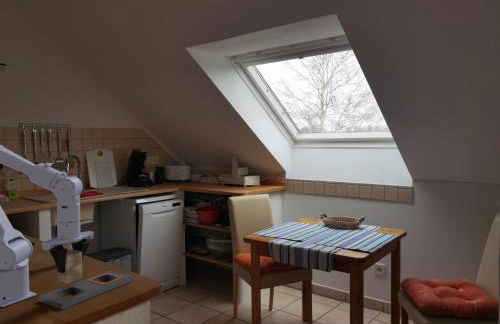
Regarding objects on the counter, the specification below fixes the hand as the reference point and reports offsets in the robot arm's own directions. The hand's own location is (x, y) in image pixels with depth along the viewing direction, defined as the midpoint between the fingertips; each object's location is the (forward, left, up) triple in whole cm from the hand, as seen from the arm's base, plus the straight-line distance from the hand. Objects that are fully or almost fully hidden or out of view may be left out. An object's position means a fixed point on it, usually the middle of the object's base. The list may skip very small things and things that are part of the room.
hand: (69, 269), depth 111 cm
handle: (+18, +27, -8) cm, 33 cm away
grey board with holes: (+6, 0, -8) cm, 10 cm away
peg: (0, 0, -3) cm, 3 cm away
